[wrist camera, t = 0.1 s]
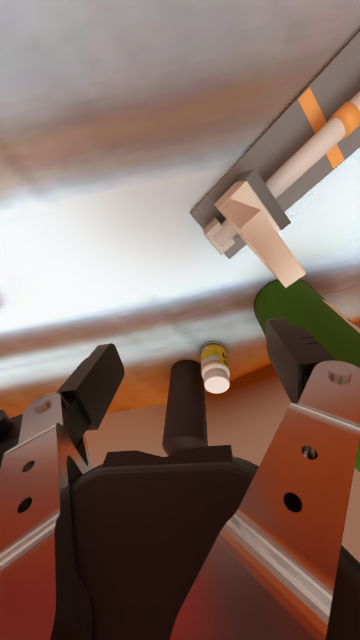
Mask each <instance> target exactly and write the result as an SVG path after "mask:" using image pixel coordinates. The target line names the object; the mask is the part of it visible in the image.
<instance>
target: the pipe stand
mask: <svg viewBox="0 0 360 640" xmlns="http://www.w3.org/2000/svg"><path fill="white" fill-rule="evenodd" d="M359 147H360V31H359V32H358V33H357V34H356V35H355V36H354V37H353V38H352V39H351V40H350V41H349V42H348V44H347V45H346V46H345V47H344V48H343V49H342V50H341V51H340V52H339V53H338V54H337V55H336V56H335V58H334V59H333V60H332V61H331V62H330V63H329V64H328V65H327V66H326V67H325V68H324V69H323V70H322V71H321V73H320V74H319V75H318V76H317V77H316V78H315V79H314V80H313V81H312V82H311V83H310V84H309V85H308V87H307V88H306V89H305V90H304V91H303V92H302V93H301V94H300V95H299V96H298V97H297V98H296V99H295V101H294V102H293V103H292V104H291V105H290V106H289V107H288V108H287V109H286V110H285V111H284V112H283V113H282V114H281V116H280V117H279V118H278V119H277V120H276V121H275V122H274V123H273V124H272V125H271V126H270V127H269V128H268V130H267V131H266V132H265V133H264V134H263V135H262V136H261V137H260V138H259V139H258V140H257V141H256V142H255V144H254V145H253V146H252V147H251V148H250V149H249V150H248V151H247V152H246V153H245V154H244V155H243V156H242V157H241V159H240V160H239V161H238V162H237V163H236V164H235V165H234V166H233V167H232V168H231V169H230V170H229V171H228V173H227V174H226V175H225V176H224V177H223V178H222V179H221V180H220V181H219V182H218V183H217V184H216V185H215V187H214V188H213V189H212V190H211V191H210V192H209V193H208V194H207V195H206V196H205V197H204V198H203V199H202V200H201V202H200V203H199V204H198V205H197V206H196V207H195V208H194V209H193V210H192V211H191V212H190V214H191V215H192V216H193V217H194V219H195V220H196V221H197V222H198V223H199V224H200V226H201V227H202V228H203V230H204V234H205V236H206V238H207V239H208V240H209V241H210V242H211V243H212V244H213V246H214V247H215V248H216V249H217V250H218V251H219V253H220V254H221V255H222V254H223V253H225V255H226V256H227V257H228V258H229V259H230V258H231V257H232V256H233V255H235V254H236V253H237V252H238V251H239V250H240V249H242V248H243V247H244V246H245V245H246V243H245V242H244V241H243V240H242V239H241V237H240V236H239V235H238V234H237V231H236V230H235V229H234V228H233V226H232V225H231V224H230V222H229V221H228V220H227V219H225V217H224V216H223V215H222V214H221V212H220V211H219V210H218V209H217V207H216V206H215V205H214V204H215V203H216V202H217V201H218V200H219V199H220V198H221V197H222V195H223V194H224V193H225V192H226V191H227V190H228V189H229V188H230V187H231V186H232V185H233V184H234V183H235V182H236V181H235V179H236V178H237V177H238V176H239V175H240V174H241V173H242V172H245V171H249V170H253V169H256V171H257V172H258V174H259V175H260V177H261V178H262V180H263V181H264V183H265V184H266V186H267V187H268V189H269V190H270V192H271V193H272V195H273V196H274V198H275V199H276V201H277V202H278V204H279V205H280V207H281V208H282V210H283V211H284V212H285V211H286V210H287V209H288V208H289V207H291V206H292V205H293V204H294V203H295V202H296V201H298V200H299V199H300V198H301V197H302V196H303V195H305V194H306V193H307V192H308V191H309V190H310V189H312V188H313V187H314V186H315V185H316V184H317V183H319V182H320V181H321V180H322V179H323V178H324V177H326V176H327V175H328V174H329V173H330V172H331V171H333V170H334V169H335V168H336V167H337V166H338V165H340V164H341V163H342V162H343V161H344V160H345V159H347V158H348V157H349V156H350V155H351V154H352V153H354V152H355V151H356V150H357V149H358V148H359Z"/></svg>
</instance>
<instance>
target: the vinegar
mask: <svg viewBox="0 0 360 640" xmlns="http://www.w3.org/2000/svg"><path fill="white" fill-rule="evenodd" d="M162 445H163V448H164V451H165V452H166V453H167V455H168V456H171V455H174V454H177V453H181V452H184V451H187V450H190V449H193V448H196V447H205V446H208V441H207V422H206V404H205V386H204V379H203V378H202V374H201V366H200V365H199V364H198V363H196V362H193V361H181V362H178V363H177V364H175V365H174V366H173V368H172V370H171V377H170V385H169V393H168V402H167V410H166V418H165V426H164V435H163V443H162Z"/></svg>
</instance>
